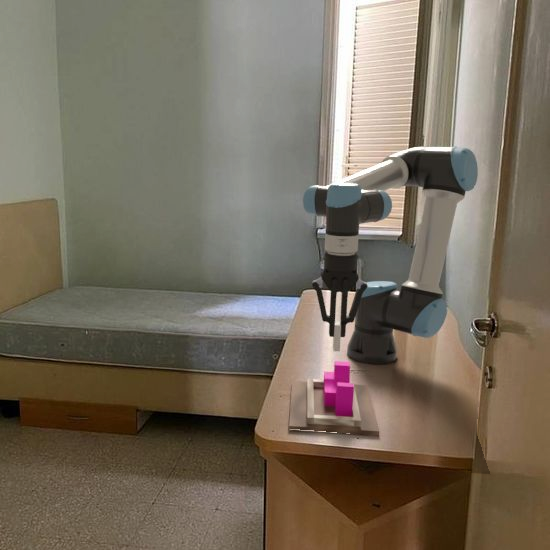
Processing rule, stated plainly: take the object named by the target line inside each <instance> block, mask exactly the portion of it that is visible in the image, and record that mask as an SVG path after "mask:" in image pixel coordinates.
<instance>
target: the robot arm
mask: <svg viewBox="0 0 550 550" xmlns="http://www.w3.org/2000/svg"><path fill="white" fill-rule="evenodd" d="M478 167H479V166H478V161H477V158H476V156H475V154H474V152H473V151H472V150H471V149H469V148H467V147H458V146H417V147H411V148H408V149H405V150H401V151H399V152H396V153H394V154H392V155H388V156H386V157H385V158H384V159H383V160H382V161H381V162H380V163H379V164H376V165H374V166H371V167H369V168H367V169H364V170H362V171H359V172H356V173H354V174H352V175H350V176H348V177H344V178H342V179H340V180H338V181H337V180H336V181H335V182H332V183H329V184H328V185H319V184H318V185H311V186H309V187H307V189H305V191H304V193H303V195H302V206H303V208H304V211H305V212H306V213H308V214H310V215H313V216H316V217H323V218H325V233H324V235H325V237H324V250H325V251H326V252H325V253H324V259H323V272H322V273H321V274H320V275H321V276H320V277H318V278H317V279H313V280H312V282H311V285H312V287H313V289H314V291H315V292H316V296H317V301H318V306H319V310H320V315H321V320H322V321H323V322H324V323H325V322H326V323H328V325H329V327H328V335H329V337H330V338H331V337H332V339H333V341H332V348H333V349H332V350H333V352H341V338H345V337H346V331H347V324H349V323H354V330H353V332H352V335H351V337H350V339H349V341H348V344H347V351H346V354H347V356H348V357H349V358H351V359H352V360H355V361H358V362H360V363H364V364H370V365H371V364H372V365H382V364H383V365H384V364H389V363H393V362H395V361H396V360H397V356H398V350H397V344H396V342H395V337H394V330H395V331H398V332H402V333H404V334H409V335H412V336H414V337H420V338H424V339H429V338H433V337H434V336H436V334H438V332H440V330H441V328H442V327H443V325H444V323H445V321H446V318H447V315H448V304H447V301H446V300H444V299H443V295H444V293H443V291H442V289H441V288H440V282H441V277H442V274H443V273H442V272H443V269H444V264H445V259H446V255H447V251H448V250H447V249H448V246H449V242H450V237H451V233H452V229H453V225H454V220H455V215H456V210H457V206H458V203H460V202H461V201H462V200H464V199H465V196H466V192H470V191H472V190H474V188H475V186H476V184H477V182H478V181H477V180H478V176H479V175H478V173H479V168H478ZM402 187H419V188H422V190H421V191H422V194H423V195H424V197H425V203H424V207H423V212H422V216H421V221H420V225H419V229H418V234H417V239H416V243H415V249H414V253H413V257H412V261H411V266H410V269H409V270H410V271H409V274H408V279H407V280H406V281H404V282H403V283H402V284H401V285H400V286H401V287H400V290H399V289H398V284H397V283H396V282H394V281H388V280H387V281H386V280H374V281H365V280H364V281H363V280H362V279H361V278H360V277H359V275H358V271H357V270H358V254H357V252H358V251H359V235H360V234H359V233H360V225H361V224H368V223H369V224H370V223H377V222H379V221H383V220H385V219H386V218H387V217H389V215H390V214H391V212H392V209H393V201H392V198H391V196H390V195H389V193H387V190H390V189H400V188H402ZM323 283H324V284H325V286H326V287H327V289H328V290H329V291H330V300H329V302H330V303H329V315H328V314H327V313H328V312H327V309H326V304H325V299H324V295H323V289H322V288H323V287H324V286H323ZM354 286H355V287H356V290H355V294H354V297H353V300H352V303H351V306H350V310H349V313H348V297H349V296H348V294H349V291H351V290H352V288H353V287H354ZM337 293H341V297H340V298H341V299H340V301H341V302H340V317H339V319H340V321H336V312H337V310H336V309H337ZM347 313H348V315H347Z"/></svg>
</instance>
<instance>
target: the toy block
mask: <svg viewBox="0 0 550 550" xmlns="http://www.w3.org/2000/svg"><path fill="white" fill-rule="evenodd" d="M333 365H334V366H333V371H323V372H324V373H323V380H324V385H323V390H324V406H335V414H336V416H348V417H352V408H353V394H354V384H355V383H354V384H353V383H350V381H351V379H350V378H351V376H350V374H351V373H350V372H351V364H350V361H342V360H334V364H333Z"/></svg>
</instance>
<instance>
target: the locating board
mask: <svg viewBox="0 0 550 550" xmlns="http://www.w3.org/2000/svg"><path fill="white" fill-rule="evenodd" d="M306 380H307V381H303V380H302V381H298V380H297V381H296V380H292V381H291V392H290V393H291V394H290V395H291V396H290V407H289V420H288V421H289V423H288V430H289V429H300V430H314V431H326V432H337V433H350V434H349V435H351V434H363V435H362V436H368V435H379V436H380V428H379V424H378V420H377V416H376V413H375V408H374V404H373V400H372V397H371V394H370V393H371V392H370V390H369V385H368V384H355V382H354V381H352V380H350V383H353V384H354V394H353V408H352V417H348V416H336V414H335V406H324V390H323V385H324V379H317V378H316V379H315V378H307V379H306Z"/></svg>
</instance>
